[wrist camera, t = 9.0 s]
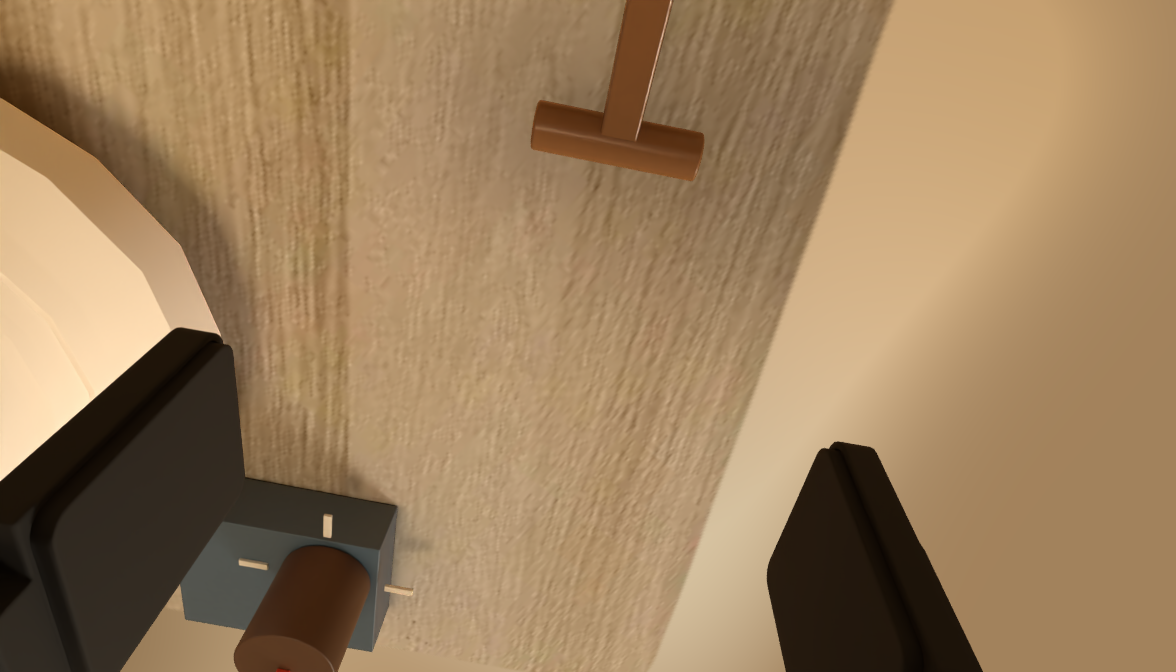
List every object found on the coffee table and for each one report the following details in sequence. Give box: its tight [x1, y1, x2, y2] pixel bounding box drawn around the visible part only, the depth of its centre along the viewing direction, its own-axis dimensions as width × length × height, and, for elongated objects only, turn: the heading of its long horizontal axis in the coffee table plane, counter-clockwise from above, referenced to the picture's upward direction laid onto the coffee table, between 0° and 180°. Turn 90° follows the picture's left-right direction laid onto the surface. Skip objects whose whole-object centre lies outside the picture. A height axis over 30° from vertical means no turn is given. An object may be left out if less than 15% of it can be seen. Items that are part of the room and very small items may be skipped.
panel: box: [180, 478, 413, 652], centre depth 36 cm, size 12×10×3 cm
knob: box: [234, 546, 370, 672], centre depth 32 cm, size 4×4×5 cm
